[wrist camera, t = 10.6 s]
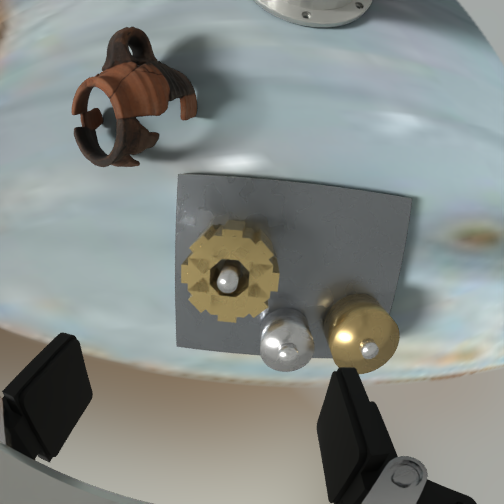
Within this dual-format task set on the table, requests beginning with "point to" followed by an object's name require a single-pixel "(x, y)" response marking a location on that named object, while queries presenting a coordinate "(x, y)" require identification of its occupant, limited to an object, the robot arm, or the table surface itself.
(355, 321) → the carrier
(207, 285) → the planet gear
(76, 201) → the table surface
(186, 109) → the brown clawed ring bracket
